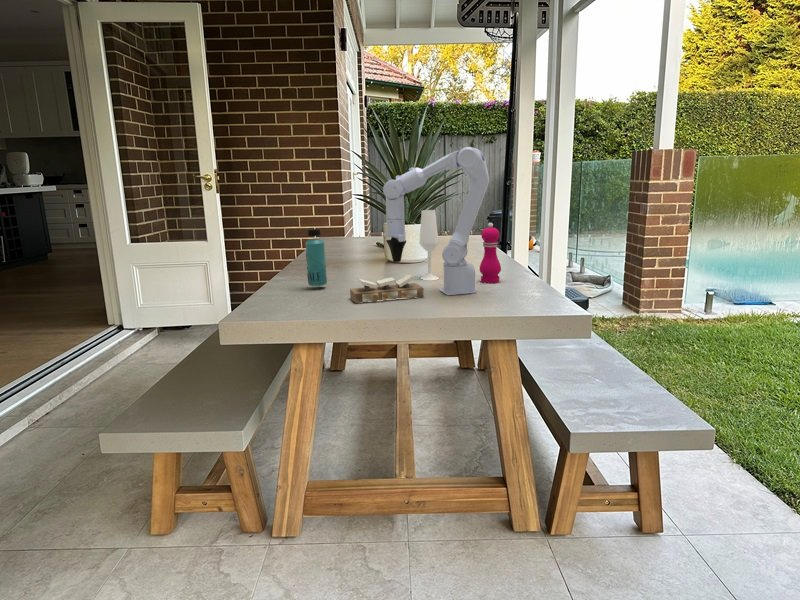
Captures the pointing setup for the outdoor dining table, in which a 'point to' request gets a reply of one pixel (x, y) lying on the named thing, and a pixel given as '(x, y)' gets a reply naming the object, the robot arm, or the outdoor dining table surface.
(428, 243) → the champagne flute
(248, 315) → the outdoor dining table surface
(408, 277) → the switch
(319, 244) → the beverage bottle
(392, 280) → the switch
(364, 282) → the switch
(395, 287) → the switch unit
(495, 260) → the pepper mill
